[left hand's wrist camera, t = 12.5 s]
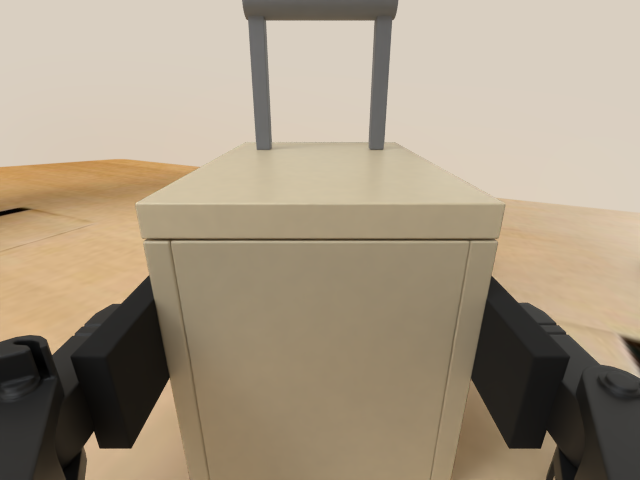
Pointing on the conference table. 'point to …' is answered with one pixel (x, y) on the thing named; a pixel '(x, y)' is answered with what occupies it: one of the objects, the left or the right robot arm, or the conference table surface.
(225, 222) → the lid
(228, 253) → the chest
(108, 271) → the conference table surface
